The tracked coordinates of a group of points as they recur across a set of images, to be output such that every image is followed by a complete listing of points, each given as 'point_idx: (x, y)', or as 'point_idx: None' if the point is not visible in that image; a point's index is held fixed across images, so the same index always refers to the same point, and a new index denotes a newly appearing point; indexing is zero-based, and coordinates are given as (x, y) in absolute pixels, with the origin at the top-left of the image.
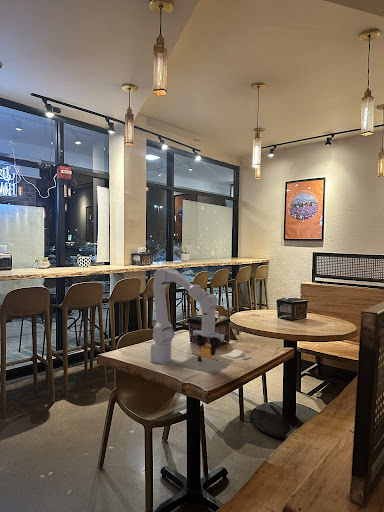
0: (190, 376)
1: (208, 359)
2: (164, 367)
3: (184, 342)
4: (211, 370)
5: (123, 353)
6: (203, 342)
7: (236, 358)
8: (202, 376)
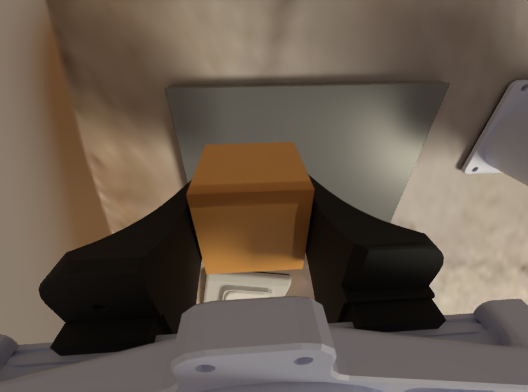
0: None
1: None
2: (512, 43)
3: (450, 314)
4: (220, 134)
5: None
6: (316, 255)
7: (222, 291)
8: (229, 43)
